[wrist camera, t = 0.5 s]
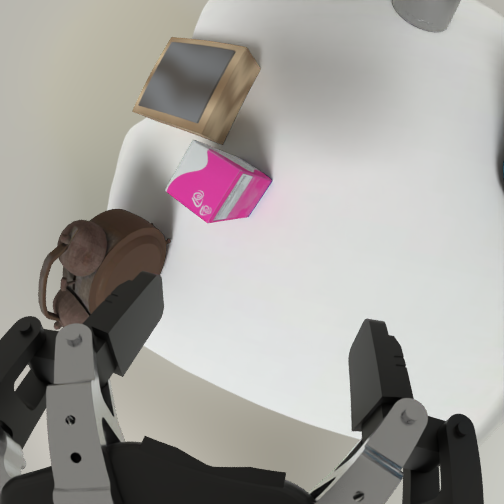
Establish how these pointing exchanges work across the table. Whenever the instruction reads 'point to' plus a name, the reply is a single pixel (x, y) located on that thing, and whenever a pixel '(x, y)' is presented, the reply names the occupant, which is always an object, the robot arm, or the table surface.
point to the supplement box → (217, 184)
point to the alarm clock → (99, 262)
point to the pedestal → (198, 86)
